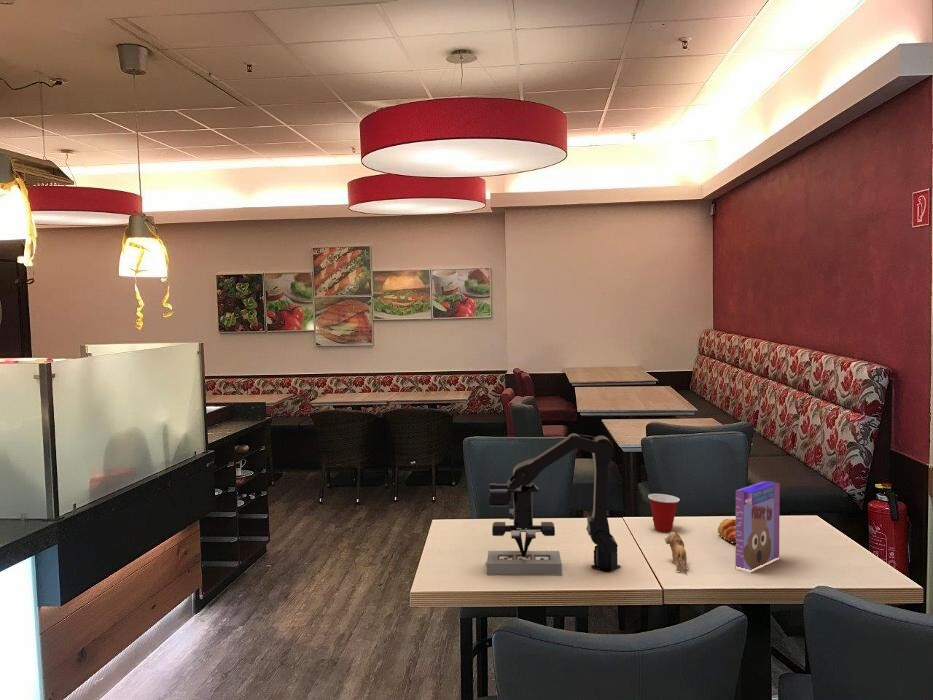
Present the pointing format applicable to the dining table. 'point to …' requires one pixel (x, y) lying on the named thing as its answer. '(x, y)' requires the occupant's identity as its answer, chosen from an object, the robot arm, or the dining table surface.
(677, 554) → the lion figurine
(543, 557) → the tile one
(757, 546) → the cereal box
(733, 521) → the croissant
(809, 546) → the dining table surface
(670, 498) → the plastic cup
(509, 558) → the tile three
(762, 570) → the dining table surface
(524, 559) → the tile two
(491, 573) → the tile board
